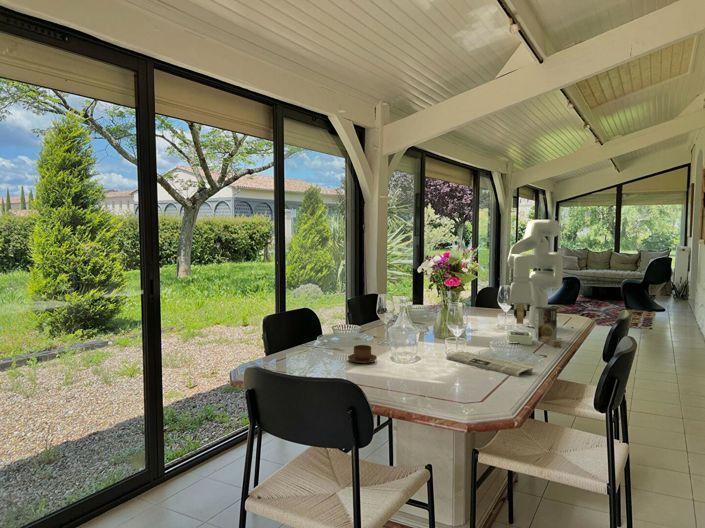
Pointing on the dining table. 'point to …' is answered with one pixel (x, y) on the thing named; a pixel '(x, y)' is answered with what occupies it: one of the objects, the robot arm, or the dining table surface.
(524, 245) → the robot arm
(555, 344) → the wooden door wedge
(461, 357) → the newspaper
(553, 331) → the coffee box
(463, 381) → the dining table surface
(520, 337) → the pale green square tray
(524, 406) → the dining table surface
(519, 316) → the wooden square peg
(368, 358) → the cup and saucer
